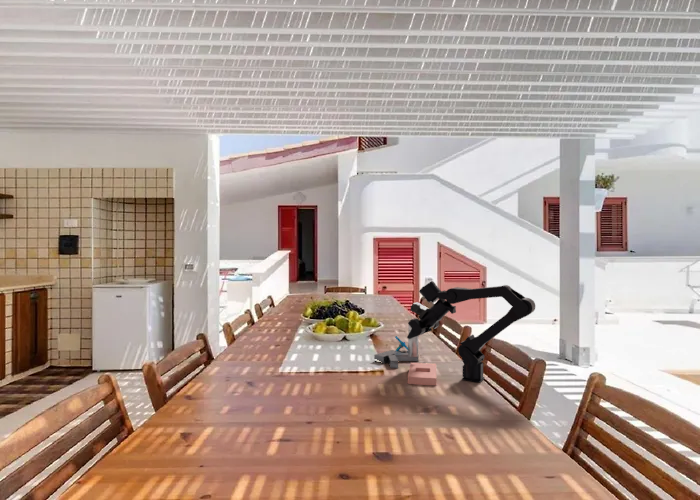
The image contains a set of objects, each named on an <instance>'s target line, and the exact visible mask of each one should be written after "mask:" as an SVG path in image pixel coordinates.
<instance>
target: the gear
mask: <svg viewBox="0 0 700 500" xmlns="http://www.w3.org/2000/svg"><path fill="white" fill-rule="evenodd" d="M394 337H395V338H396V340H397V341H398V343H399V344H398V347H396V348H395V351H399V352H400V350H401V349H403V348H405V349H406V350H407V351H408V345H406V342H405V341H402V339H400V338H399V336H397V335H396V336H394Z"/></svg>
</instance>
